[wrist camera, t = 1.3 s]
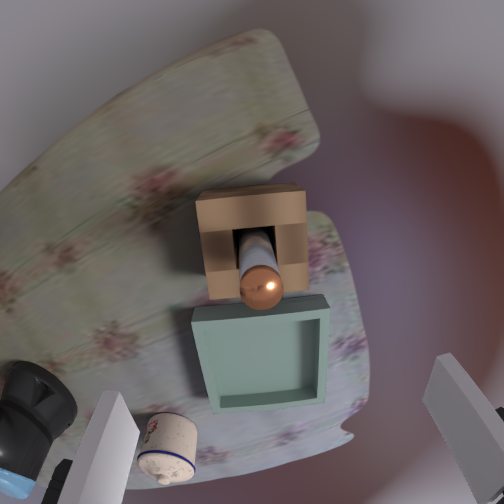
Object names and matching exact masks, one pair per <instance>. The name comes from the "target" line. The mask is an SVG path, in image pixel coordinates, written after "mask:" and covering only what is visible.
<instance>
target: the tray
mask: <svg viewBox="0 0 504 504" xmlns="http://www.w3.org/2000/svg"><path fill="white" fill-rule="evenodd" d="M191 325H192V329H193V334H194V338H195V343H196V347H197V352H198V356H199V360H200V364H201V369H202V373H203V377H204V381H205V385H206V389H207V393H208V397H209V401H210V404H211V408H212V412H213V414H220V413H238V412H251V411H262V410H272V409H281V408H290V407H297V406H305V405H311V404H318V403H324V402H325V395H326V382H327V368H328V351H329V330H330V307H329V305H328V303H327V301H326V299H325V297H324V295H315V296H306V297H297V298H288V299H281V300H280V301H279V303H277V304H276V305H275V306H274V307H272V308H269V309H266V310H256V309H253V308H250V307H249V306H247V305H246V304H245V303H239V304H228V305H216V306H203V307H195V308H194V312H193V316H192V320H191Z"/></svg>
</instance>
